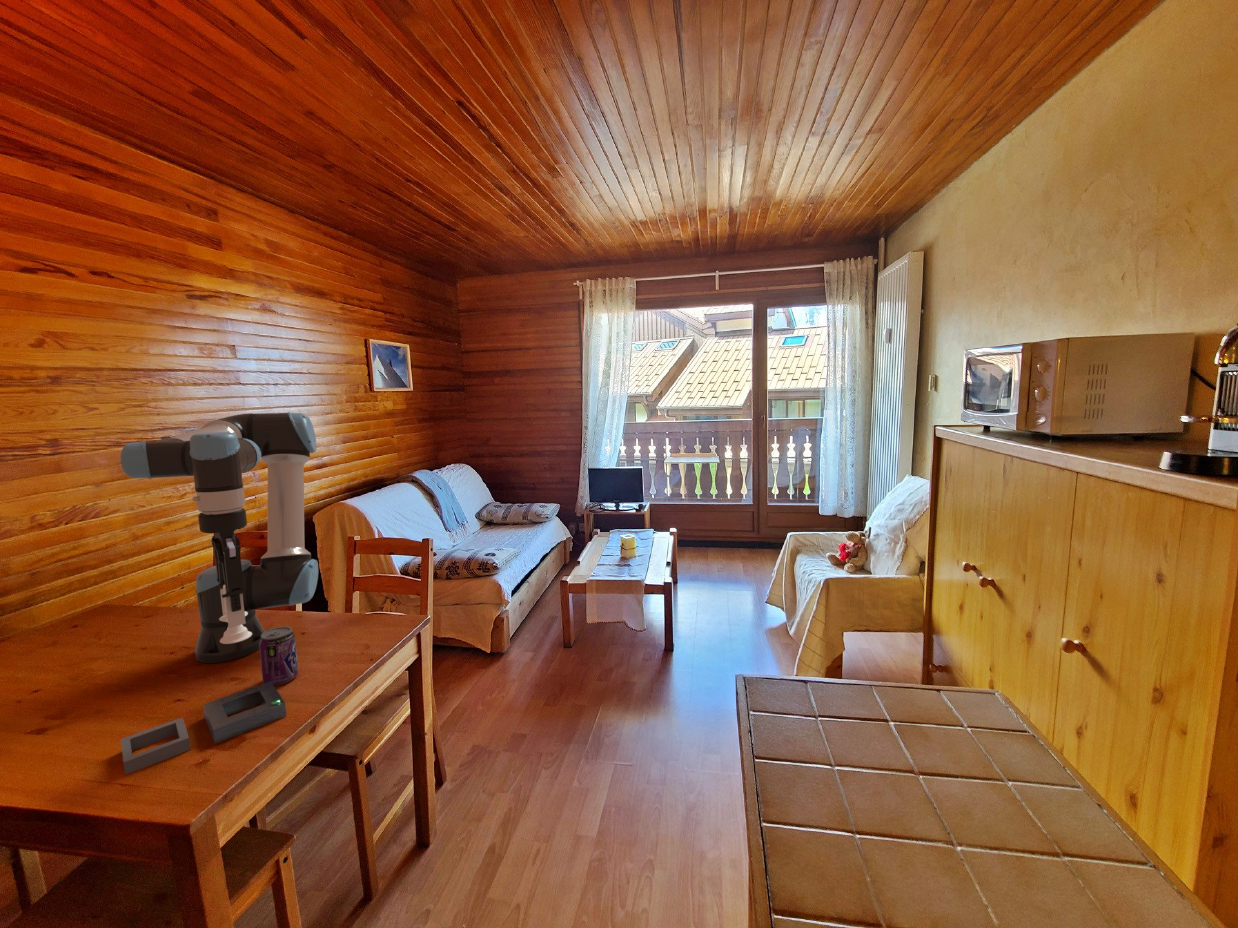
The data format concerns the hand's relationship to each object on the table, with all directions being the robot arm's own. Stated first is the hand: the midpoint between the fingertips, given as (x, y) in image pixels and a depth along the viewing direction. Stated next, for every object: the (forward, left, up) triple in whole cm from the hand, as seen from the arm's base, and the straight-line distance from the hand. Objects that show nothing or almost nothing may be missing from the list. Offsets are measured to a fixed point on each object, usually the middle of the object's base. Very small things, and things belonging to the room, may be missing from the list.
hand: (234, 620), depth 104 cm
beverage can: (-11, +9, -22) cm, 26 cm away
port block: (0, 0, -22) cm, 22 cm away
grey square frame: (0, -14, -22) cm, 26 cm away
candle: (0, 0, -4) cm, 4 cm away
